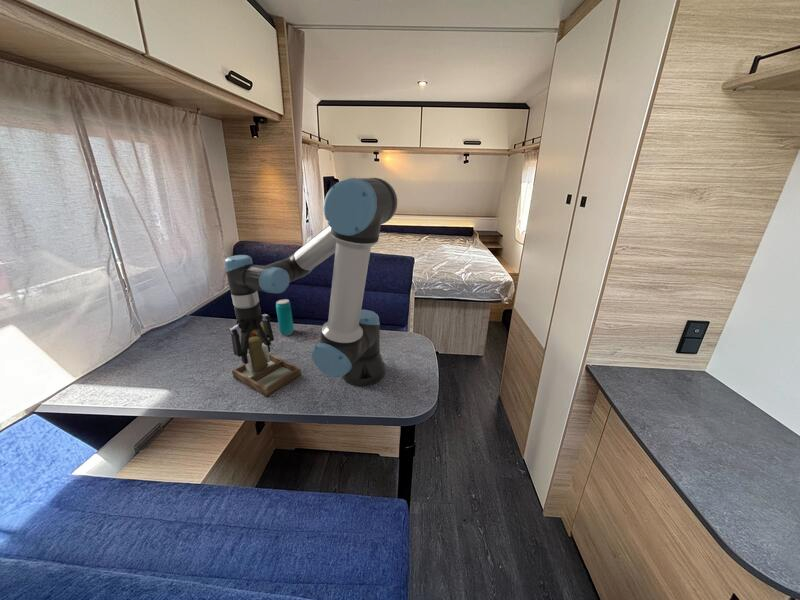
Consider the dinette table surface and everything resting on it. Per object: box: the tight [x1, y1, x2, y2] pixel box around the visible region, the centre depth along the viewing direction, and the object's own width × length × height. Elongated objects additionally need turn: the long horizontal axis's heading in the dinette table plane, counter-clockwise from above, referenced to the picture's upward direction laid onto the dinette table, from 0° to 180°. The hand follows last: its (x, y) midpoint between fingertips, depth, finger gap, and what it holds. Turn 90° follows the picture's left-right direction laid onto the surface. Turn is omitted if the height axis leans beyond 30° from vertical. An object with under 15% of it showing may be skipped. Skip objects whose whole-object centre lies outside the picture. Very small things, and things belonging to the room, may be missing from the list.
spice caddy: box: [231, 352, 302, 398], centre depth 107 cm, size 18×14×3 cm
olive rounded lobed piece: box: [248, 337, 268, 371], centre depth 107 cm, size 6×6×11 cm
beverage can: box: [275, 298, 294, 337], centre depth 133 cm, size 6×6×15 cm
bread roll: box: [249, 322, 266, 338], centre depth 133 cm, size 10×10×8 cm
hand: (258, 365), depth 108 cm, fingers closed on olive rounded lobed piece, 6 cm apart
